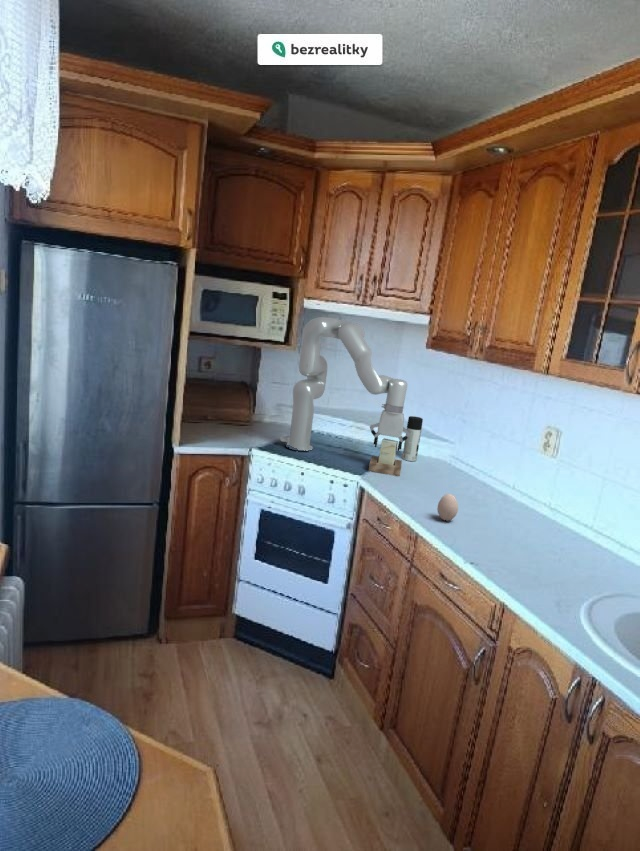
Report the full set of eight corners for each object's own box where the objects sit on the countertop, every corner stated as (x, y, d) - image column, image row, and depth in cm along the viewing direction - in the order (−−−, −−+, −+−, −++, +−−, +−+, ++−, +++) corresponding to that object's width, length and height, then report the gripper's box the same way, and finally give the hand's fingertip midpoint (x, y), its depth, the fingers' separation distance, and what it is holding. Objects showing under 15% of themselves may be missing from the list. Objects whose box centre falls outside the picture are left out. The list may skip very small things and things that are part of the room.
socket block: (368, 471, 237) (369, 463, 236) (370, 463, 249) (372, 455, 249) (399, 476, 235) (401, 468, 234) (400, 468, 248) (401, 460, 247)
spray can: (417, 462, 261) (424, 420, 257) (402, 460, 261) (409, 418, 257) (415, 458, 267) (422, 417, 263) (401, 456, 267) (407, 415, 263)
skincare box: (377, 467, 241) (381, 439, 239) (379, 465, 245) (383, 437, 243) (391, 470, 239) (395, 442, 237) (393, 468, 243) (398, 440, 241)
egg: (442, 524, 187) (447, 498, 185) (431, 516, 192) (436, 491, 191) (459, 523, 189) (464, 497, 187) (448, 516, 195) (452, 490, 193)
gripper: (372, 406, 234) (365, 446, 238) (414, 414, 232) (407, 454, 236) (373, 403, 242) (367, 442, 245) (414, 410, 239) (407, 450, 243)
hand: (386, 448), depth 241 cm, fingers open, 9 cm apart
